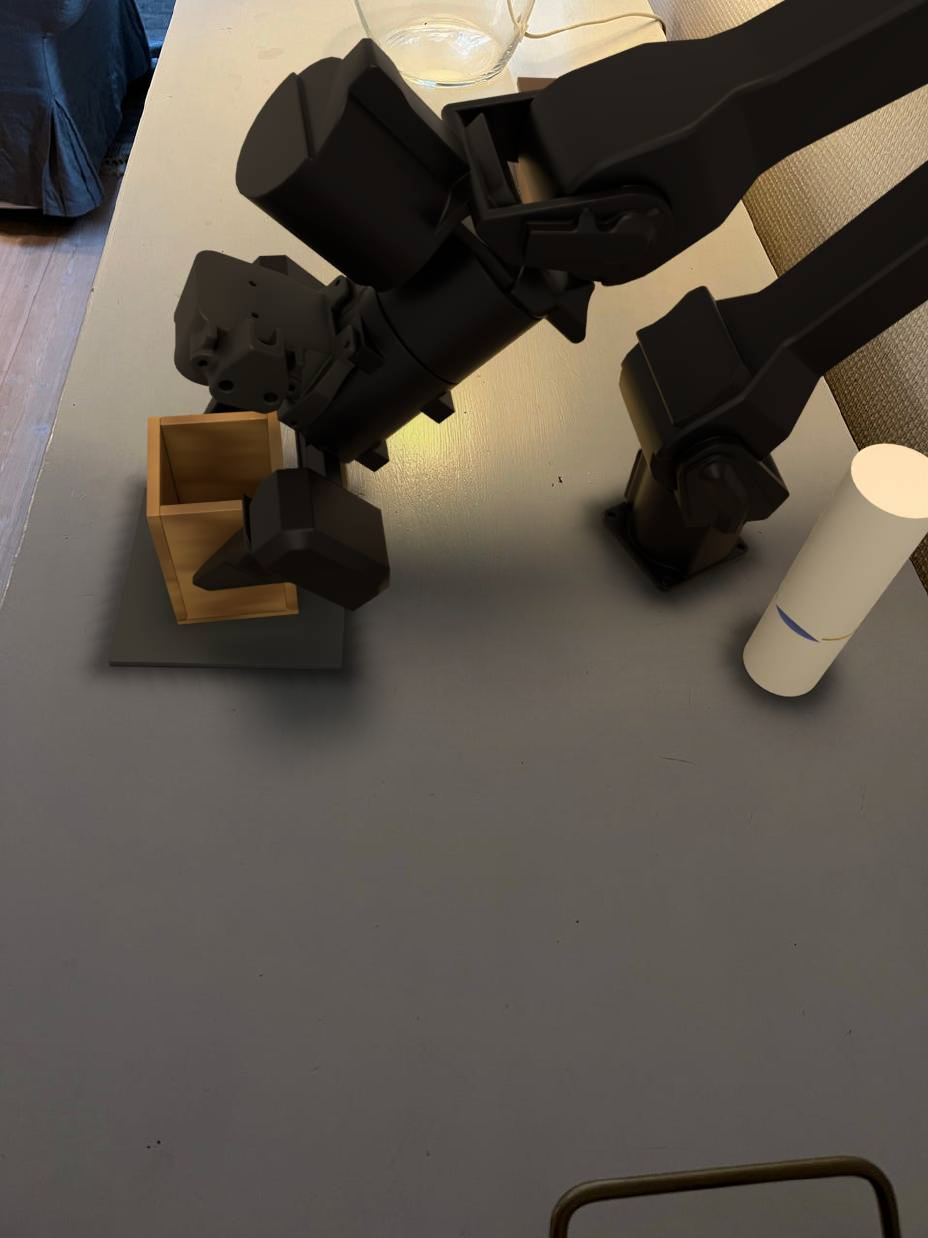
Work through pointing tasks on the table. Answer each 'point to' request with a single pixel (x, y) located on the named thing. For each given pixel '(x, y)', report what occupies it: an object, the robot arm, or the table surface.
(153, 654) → the mat
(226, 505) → the open wooden box
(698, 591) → the table surface
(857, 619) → the tube
